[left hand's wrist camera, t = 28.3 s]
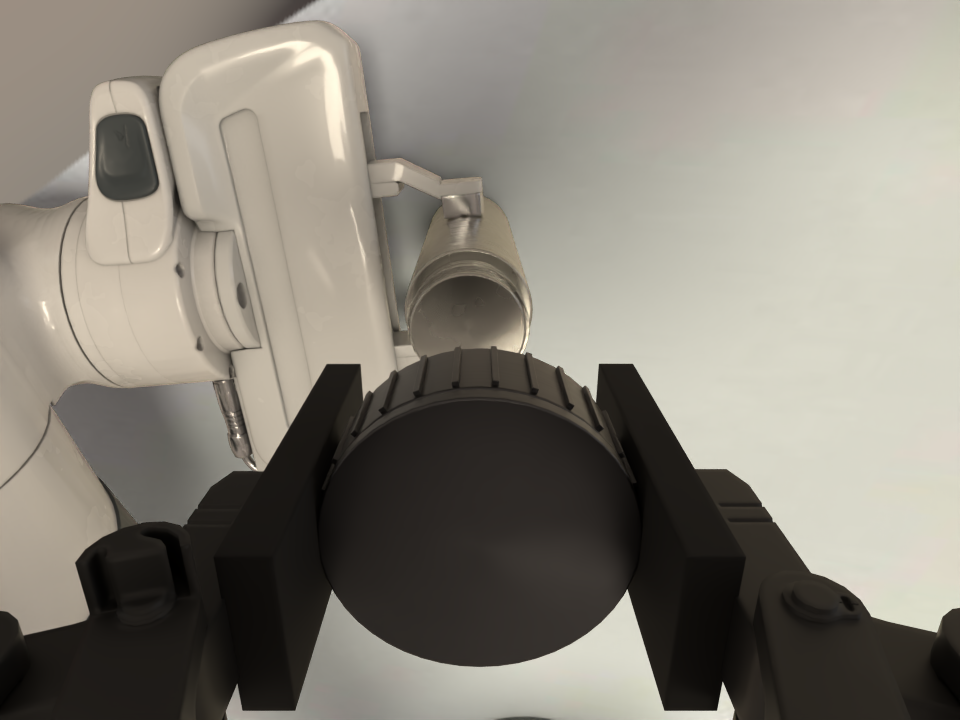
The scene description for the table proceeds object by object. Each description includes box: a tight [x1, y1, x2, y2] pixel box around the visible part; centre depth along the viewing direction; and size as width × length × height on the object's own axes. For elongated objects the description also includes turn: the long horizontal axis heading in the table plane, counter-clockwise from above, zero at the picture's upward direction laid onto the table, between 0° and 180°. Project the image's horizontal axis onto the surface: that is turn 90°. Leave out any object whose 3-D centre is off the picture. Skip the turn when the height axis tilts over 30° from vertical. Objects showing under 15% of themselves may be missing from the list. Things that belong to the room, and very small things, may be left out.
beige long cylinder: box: [405, 196, 533, 359], centre depth 28 cm, size 4×4×16 cm
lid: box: [317, 346, 643, 667], centre depth 11 cm, size 6×6×2 cm
